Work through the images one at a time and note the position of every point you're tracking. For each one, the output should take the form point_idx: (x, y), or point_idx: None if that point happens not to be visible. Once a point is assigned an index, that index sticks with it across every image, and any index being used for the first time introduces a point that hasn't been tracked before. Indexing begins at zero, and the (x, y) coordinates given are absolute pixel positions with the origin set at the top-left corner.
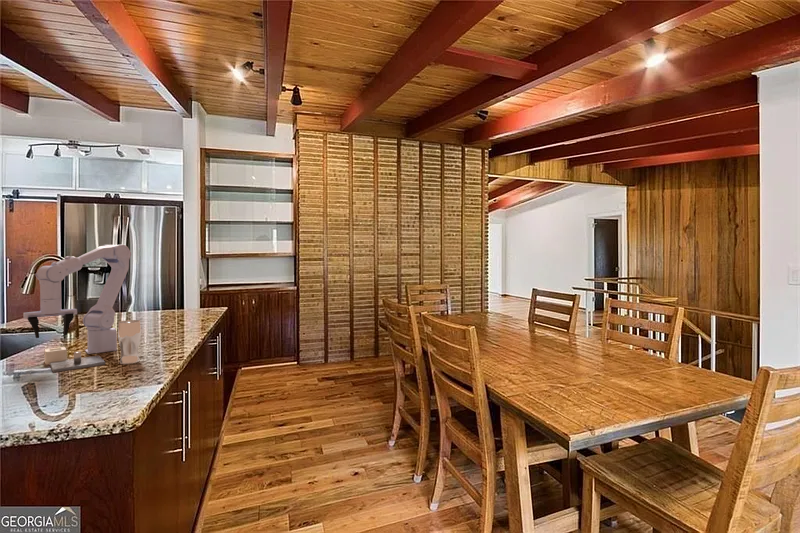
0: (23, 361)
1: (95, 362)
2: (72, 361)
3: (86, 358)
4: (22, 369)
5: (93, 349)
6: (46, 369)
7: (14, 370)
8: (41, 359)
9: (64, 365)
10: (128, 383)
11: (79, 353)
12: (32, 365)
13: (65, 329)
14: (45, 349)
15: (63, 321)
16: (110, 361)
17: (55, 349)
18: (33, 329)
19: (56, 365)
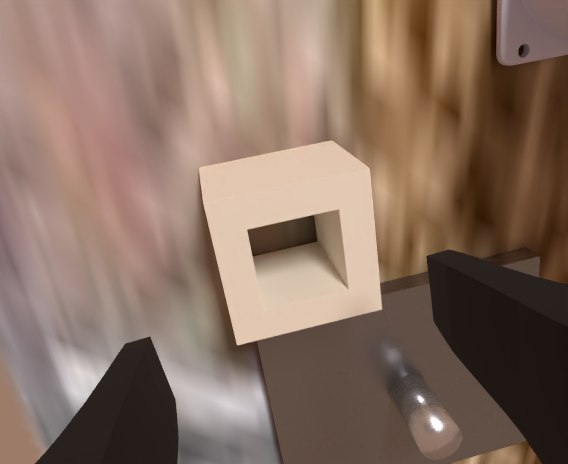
0: (11, 55)
1: (487, 437)
2: (384, 362)
3: None
4: (102, 360)
5: (560, 28)
6: (247, 416)
7: (56, 367)
8: (155, 51)
9: (342, 445)
10: None
11: (447, 449)
12: (137, 267)
13: (486, 382)
14: (214, 224)
15: (566, 333)
16: None
17: (294, 213)
18: (72, 432)
19: (301, 428)
